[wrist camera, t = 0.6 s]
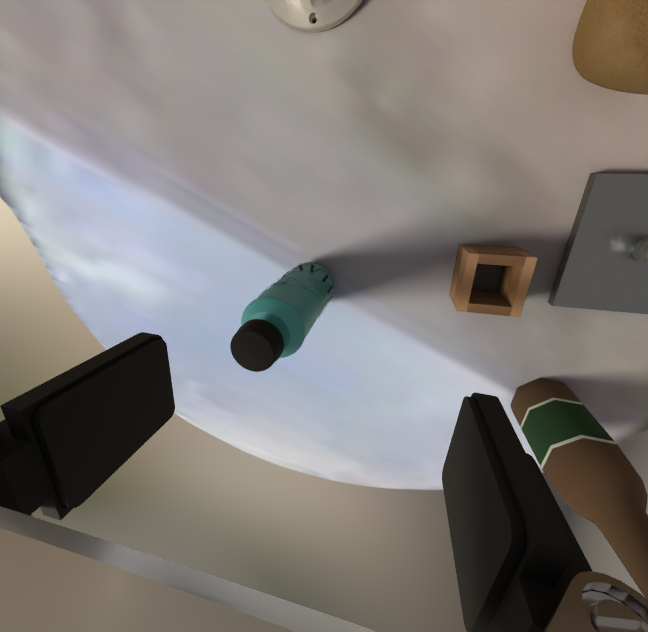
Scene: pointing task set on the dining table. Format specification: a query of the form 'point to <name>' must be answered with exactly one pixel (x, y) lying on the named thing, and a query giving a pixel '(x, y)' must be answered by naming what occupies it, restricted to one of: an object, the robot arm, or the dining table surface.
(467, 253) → the walnut collar
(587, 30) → the plant pot
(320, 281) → the beverage bottle
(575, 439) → the beer bottle
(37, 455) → the robot arm
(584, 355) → the dining table surface
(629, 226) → the post block
